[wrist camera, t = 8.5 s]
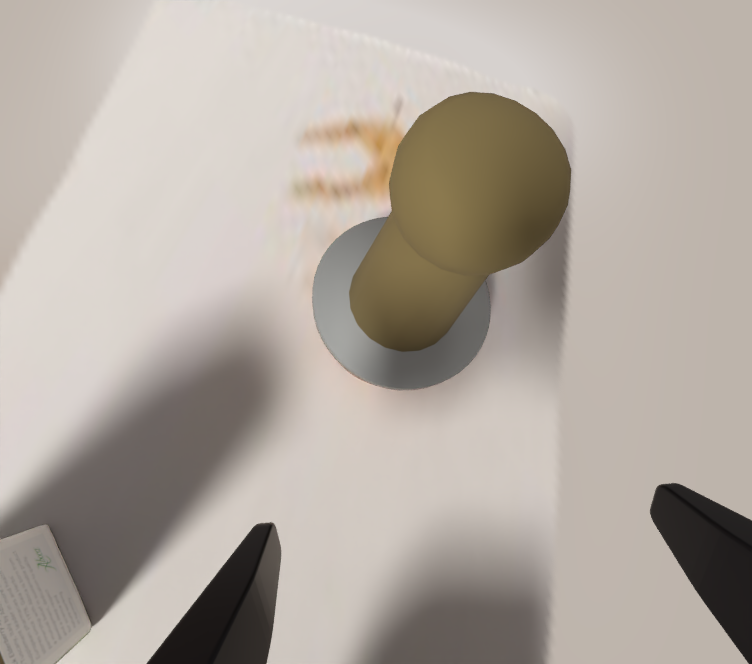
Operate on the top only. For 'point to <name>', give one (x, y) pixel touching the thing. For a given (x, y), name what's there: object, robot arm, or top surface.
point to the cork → (458, 215)
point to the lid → (367, 354)
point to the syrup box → (37, 600)
